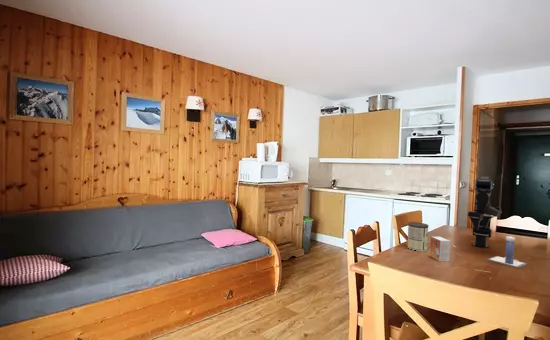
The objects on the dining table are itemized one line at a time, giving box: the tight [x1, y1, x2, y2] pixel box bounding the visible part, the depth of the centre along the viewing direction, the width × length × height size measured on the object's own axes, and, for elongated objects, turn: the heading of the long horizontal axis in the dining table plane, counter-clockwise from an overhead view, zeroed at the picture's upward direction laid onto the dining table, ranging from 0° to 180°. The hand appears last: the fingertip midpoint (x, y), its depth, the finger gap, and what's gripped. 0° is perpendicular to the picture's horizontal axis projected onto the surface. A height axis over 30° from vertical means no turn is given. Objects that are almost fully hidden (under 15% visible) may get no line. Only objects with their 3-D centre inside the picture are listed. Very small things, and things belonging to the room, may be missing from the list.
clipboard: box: [486, 255, 528, 269], centre depth 150 cm, size 11×13×1 cm
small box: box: [429, 236, 452, 262], centre depth 152 cm, size 8×6×10 cm
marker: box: [504, 235, 516, 264], centre depth 146 cm, size 3×3×13 cm
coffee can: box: [406, 221, 430, 252], centre depth 168 cm, size 10×10×14 cm
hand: (480, 229), depth 165 cm, fingers open, 9 cm apart
